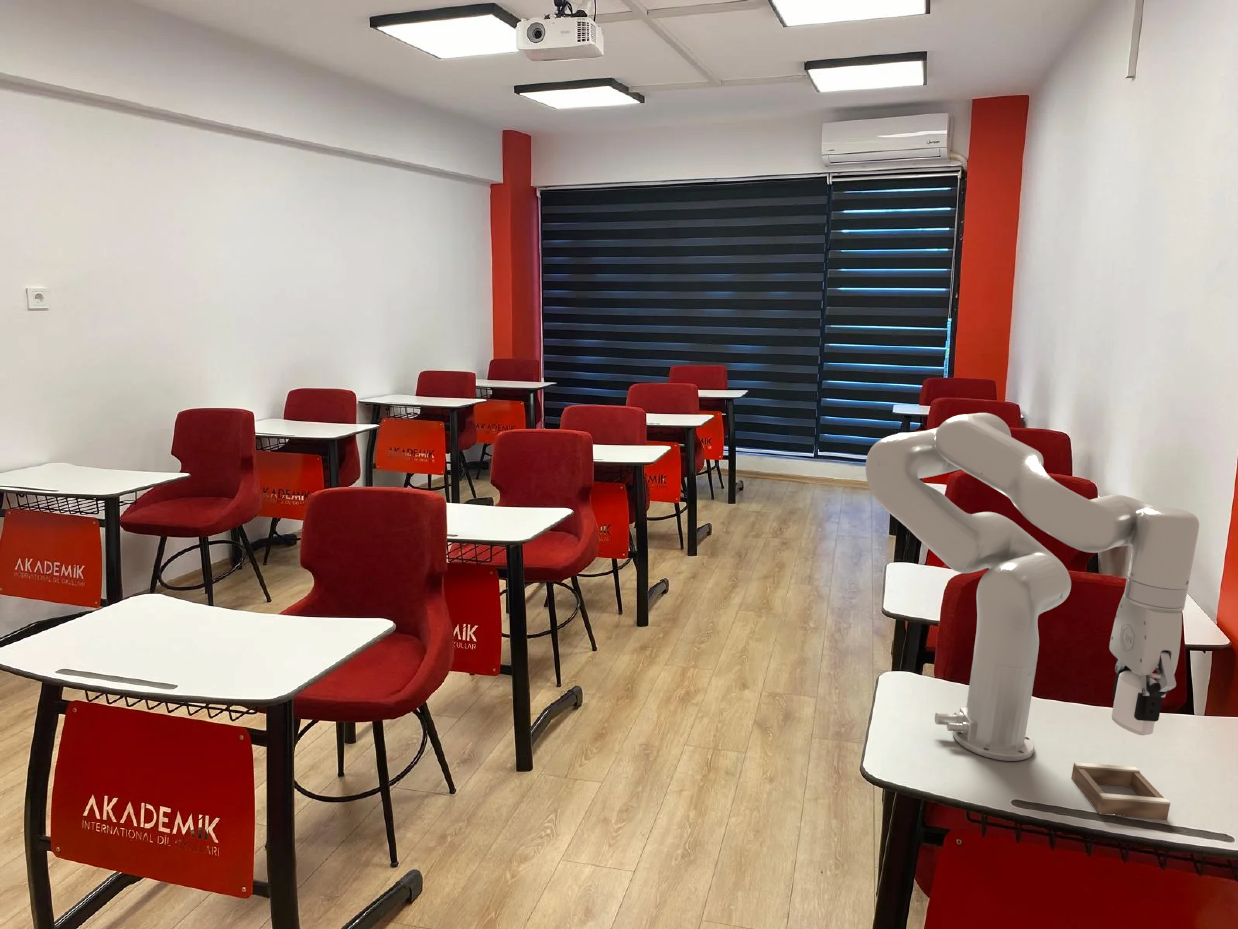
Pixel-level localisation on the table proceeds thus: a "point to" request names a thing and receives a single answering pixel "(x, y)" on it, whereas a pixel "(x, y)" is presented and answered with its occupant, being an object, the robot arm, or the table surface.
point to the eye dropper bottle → (1130, 704)
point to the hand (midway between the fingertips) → (1134, 708)
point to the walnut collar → (1124, 805)
